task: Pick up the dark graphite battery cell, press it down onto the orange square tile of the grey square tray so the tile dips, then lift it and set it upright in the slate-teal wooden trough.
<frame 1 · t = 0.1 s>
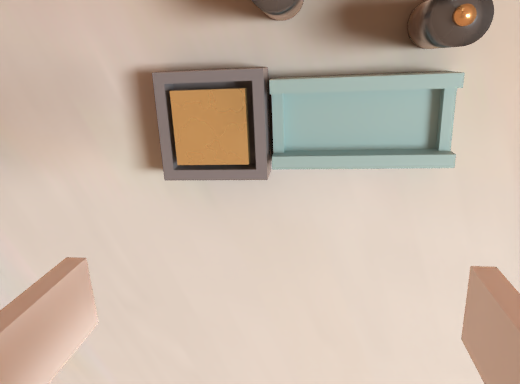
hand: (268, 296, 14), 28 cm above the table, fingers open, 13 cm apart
trough: (358, 118, 39), on the table
orange square tile: (211, 127, 38), point 3 cm above the table, slide at -0.1 cm
cell b: (431, 24, 36), on the table
grey square tray: (219, 121, 41), on the table
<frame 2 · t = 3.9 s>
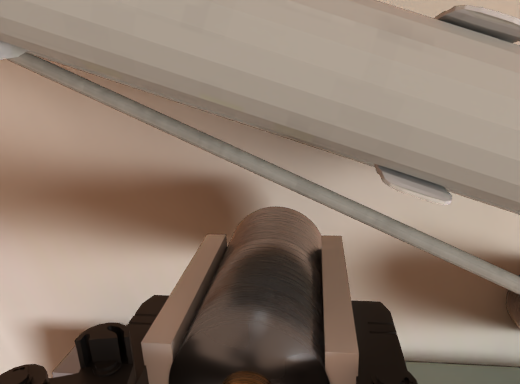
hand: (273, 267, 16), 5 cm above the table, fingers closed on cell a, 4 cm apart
geiger counter: (278, 74, 19), on the table
cell a: (277, 250, 18), point 3 cm above the table, touching gripper
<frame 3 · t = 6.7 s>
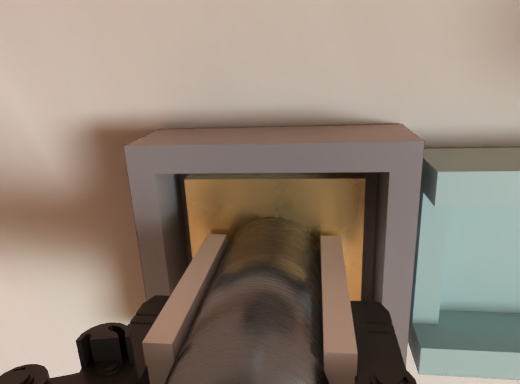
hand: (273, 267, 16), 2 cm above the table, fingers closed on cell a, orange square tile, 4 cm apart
orange square tile: (276, 255, 17), point 2 cm above the table, slide at -1.8 cm, touching gripper
grey square tray: (279, 237, 18), on the table
cell a: (274, 263, 16), point 2 cm above the table, touching gripper
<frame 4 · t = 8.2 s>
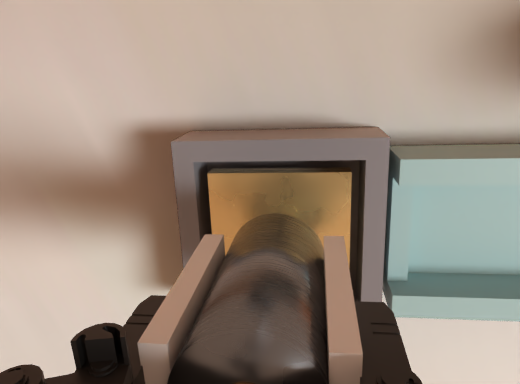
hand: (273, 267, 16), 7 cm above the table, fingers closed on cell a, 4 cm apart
orange square tile: (280, 235, 21), point 3 cm above the table, slide at -0.7 cm
grey square tray: (284, 216, 23), on the table
cell a: (276, 257, 17), point 6 cm above the table, touching gripper
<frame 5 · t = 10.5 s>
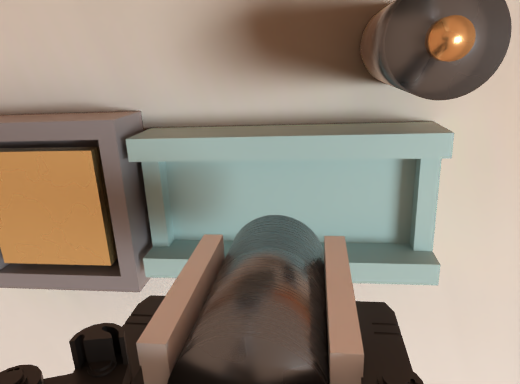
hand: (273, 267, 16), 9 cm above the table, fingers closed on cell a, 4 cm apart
trough: (287, 191, 25), on the table
orange square tile: (50, 207, 24), point 3 cm above the table, slide at -0.7 cm
cell b: (399, 44, 21), on the table
grey square tray: (77, 191, 26), on the table
cell a: (276, 259, 17), point 8 cm above the table, touching gripper
when the fingers open (2 cm above the table, at t = 12.0 s): cell a stays where it is, resting on trough.
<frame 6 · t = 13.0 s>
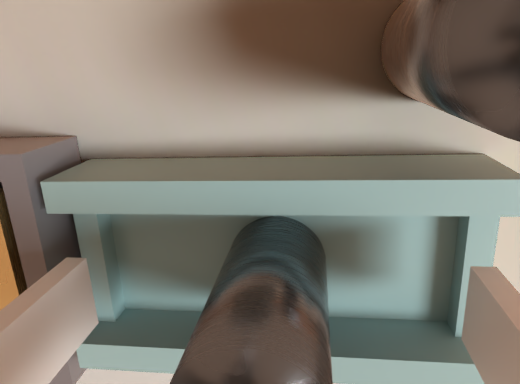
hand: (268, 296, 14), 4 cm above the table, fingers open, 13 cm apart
trough: (277, 246, 18), on the table
cell b: (438, 45, 15), on the table
cell a: (277, 260, 17), point 1 cm above the table, touching trough
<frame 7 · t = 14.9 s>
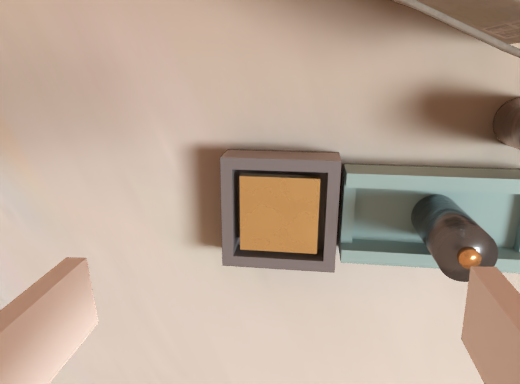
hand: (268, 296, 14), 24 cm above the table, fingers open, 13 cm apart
trough: (431, 210, 37), on the table
orange square tile: (279, 213, 36), point 3 cm above the table, slide at -0.7 cm
cell b: (519, 122, 34), on the table
grey square tray: (281, 203, 38), on the table
cell a: (434, 216, 36), point 1 cm above the table, touching trough
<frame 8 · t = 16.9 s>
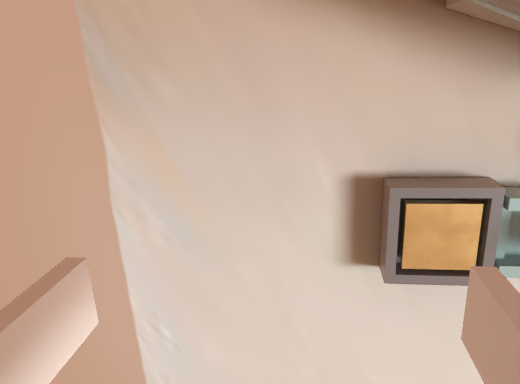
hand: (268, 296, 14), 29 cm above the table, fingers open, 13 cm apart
orange square tile: (439, 235, 39), point 3 cm above the table, slide at -0.7 cm
grey square tray: (431, 224, 42), on the table
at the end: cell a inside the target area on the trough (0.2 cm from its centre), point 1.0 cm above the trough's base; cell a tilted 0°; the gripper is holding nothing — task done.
